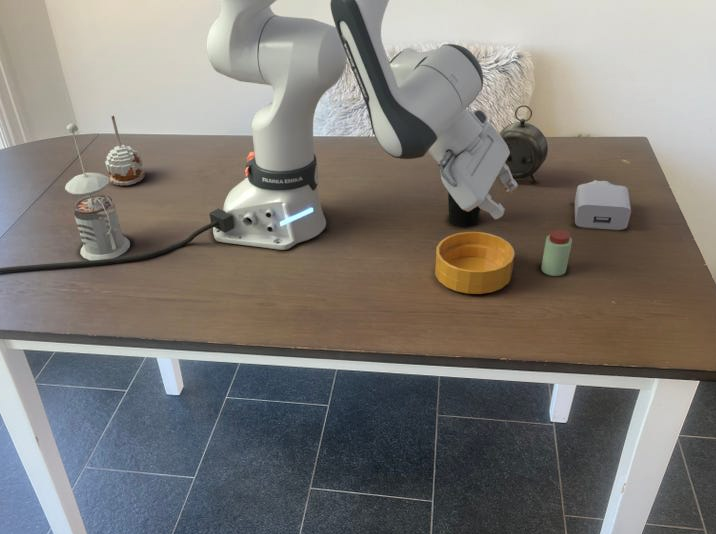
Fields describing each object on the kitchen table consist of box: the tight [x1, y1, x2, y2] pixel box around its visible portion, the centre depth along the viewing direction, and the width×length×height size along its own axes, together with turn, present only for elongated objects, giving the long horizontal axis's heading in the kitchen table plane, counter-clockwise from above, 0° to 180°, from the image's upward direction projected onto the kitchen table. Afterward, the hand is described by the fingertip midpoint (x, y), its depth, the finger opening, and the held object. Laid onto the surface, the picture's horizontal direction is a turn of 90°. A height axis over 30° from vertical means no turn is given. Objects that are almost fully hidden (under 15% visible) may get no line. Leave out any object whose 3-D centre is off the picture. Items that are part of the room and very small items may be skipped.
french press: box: [64, 123, 131, 261], centre depth 132 cm, size 10×12×25 cm
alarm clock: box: [498, 104, 549, 184], centre depth 146 cm, size 11×5×16 cm, turn 58°
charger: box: [574, 179, 632, 231], centre depth 138 cm, size 5×9×15 cm
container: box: [540, 229, 573, 277], centre depth 123 cm, size 4×4×7 cm
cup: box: [447, 191, 481, 228], centre depth 136 cm, size 8×8×12 cm
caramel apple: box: [104, 114, 146, 186], centre depth 159 cm, size 8×8×15 cm
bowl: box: [434, 231, 516, 295], centre depth 124 cm, size 13×13×5 cm
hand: (507, 202), depth 120 cm, fingers open, 8 cm apart
